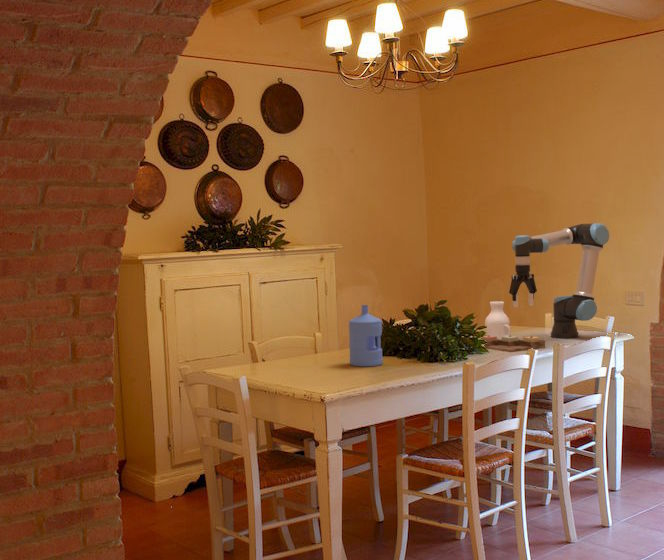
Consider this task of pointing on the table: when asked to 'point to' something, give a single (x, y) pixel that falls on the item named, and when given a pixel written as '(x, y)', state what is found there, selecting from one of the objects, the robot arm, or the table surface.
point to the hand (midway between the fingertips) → (523, 306)
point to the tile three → (531, 339)
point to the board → (514, 345)
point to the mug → (499, 329)
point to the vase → (496, 316)
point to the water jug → (365, 340)
